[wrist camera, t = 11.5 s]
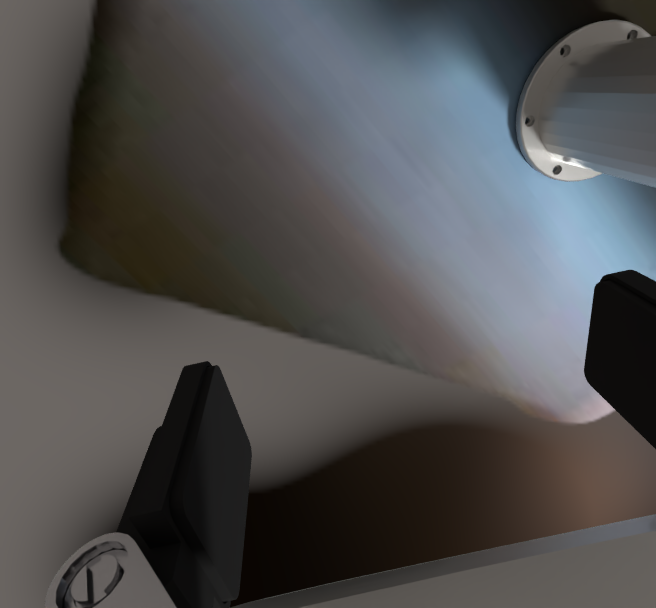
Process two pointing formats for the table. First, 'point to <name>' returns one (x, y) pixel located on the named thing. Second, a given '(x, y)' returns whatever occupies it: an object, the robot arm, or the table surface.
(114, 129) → the table surface
